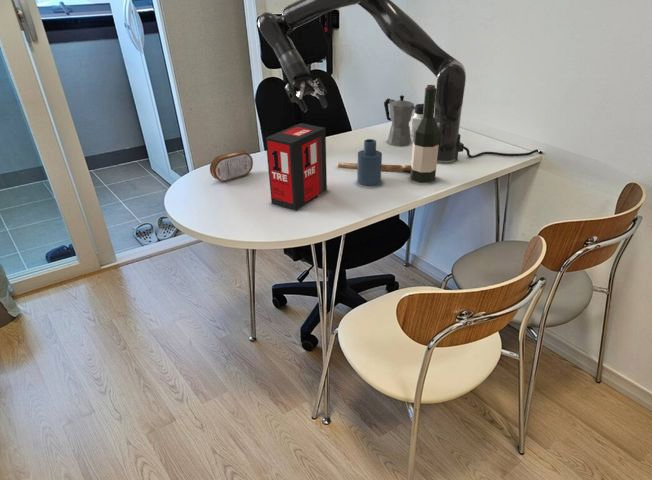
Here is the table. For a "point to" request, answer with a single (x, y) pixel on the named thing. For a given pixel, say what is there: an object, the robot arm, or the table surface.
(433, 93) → the wine bottle
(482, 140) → the table surface
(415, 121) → the medicine bottle
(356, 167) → the spoon
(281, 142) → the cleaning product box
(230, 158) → the tin
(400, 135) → the coffeepot
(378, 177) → the bottle
